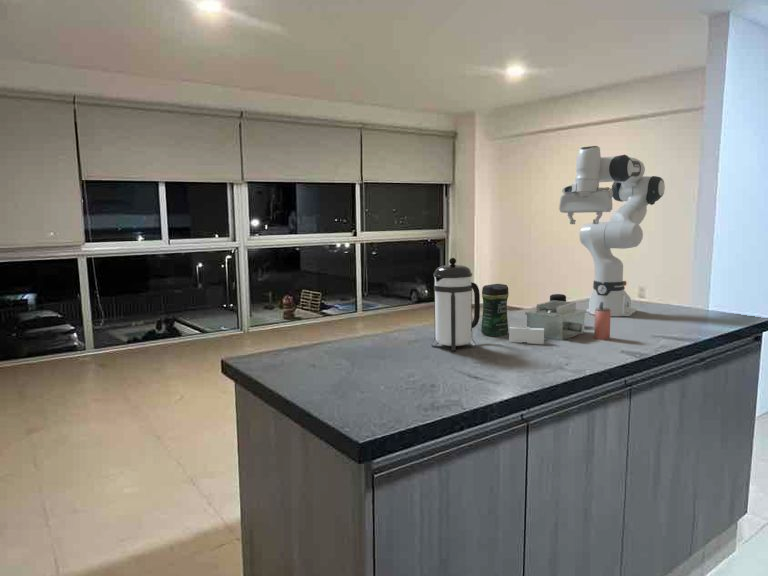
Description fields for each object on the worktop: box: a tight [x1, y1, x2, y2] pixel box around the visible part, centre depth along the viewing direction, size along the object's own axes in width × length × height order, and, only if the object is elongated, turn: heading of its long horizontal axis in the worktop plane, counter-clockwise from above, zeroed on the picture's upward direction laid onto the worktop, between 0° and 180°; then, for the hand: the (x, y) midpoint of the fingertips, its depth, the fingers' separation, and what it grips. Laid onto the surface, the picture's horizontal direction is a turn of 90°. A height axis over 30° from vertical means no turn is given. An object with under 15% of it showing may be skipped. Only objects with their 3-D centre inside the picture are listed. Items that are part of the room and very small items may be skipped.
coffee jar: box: [480, 283, 509, 337], centre depth 199 cm, size 10×8×19 cm
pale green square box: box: [524, 300, 587, 341], centre depth 197 cm, size 17×18×11 cm
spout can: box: [593, 302, 611, 341], centre depth 188 cm, size 5×5×13 cm
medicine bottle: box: [549, 293, 567, 302], centre depth 213 cm, size 7×7×12 cm
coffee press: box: [430, 257, 481, 352], centre depth 183 cm, size 17×16×30 cm
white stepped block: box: [508, 326, 545, 345], centre depth 186 cm, size 15×11×6 cm
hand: (583, 224), depth 211 cm, fingers open, 8 cm apart
